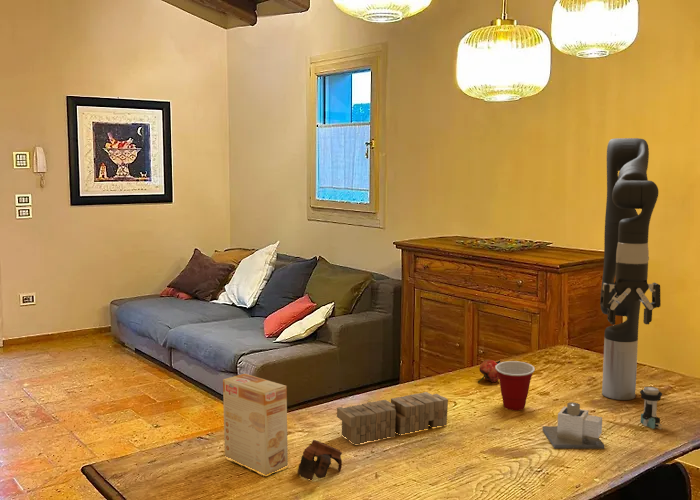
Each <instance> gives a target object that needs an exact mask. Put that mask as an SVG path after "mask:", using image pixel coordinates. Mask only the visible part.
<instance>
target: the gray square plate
mask: <svg viewBox="0 0 700 500" xmlns="http://www.w3.org/2000/svg"><path fill="white" fill-rule="evenodd" d="M566 405H567V406H566V407H567V414H569V415H575V416H580V409H581V404H580V403H578V402H570V401H569V402H567V403H566ZM557 428H558V425H556V426H554V425H553V426H552V425H551V426H549V425H548V426H546V425H545V426H543V425H542V431H543V433H544V435H545V436H546V438H547V439H548V441H549V442H550V444H551V446H552V447H553V449H574V450H576V449H577V450H579V449H580V450H581V449H583V450H584V449H585V450H587V449H589V450H601V449H602V450H604V449H605V444H604V443H603V441H602V440H601V439H600V437H599V438H594V437H589V436H585V438H584V439H583V441H577V440H571V439H566V438H561V437H557Z"/></svg>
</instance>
